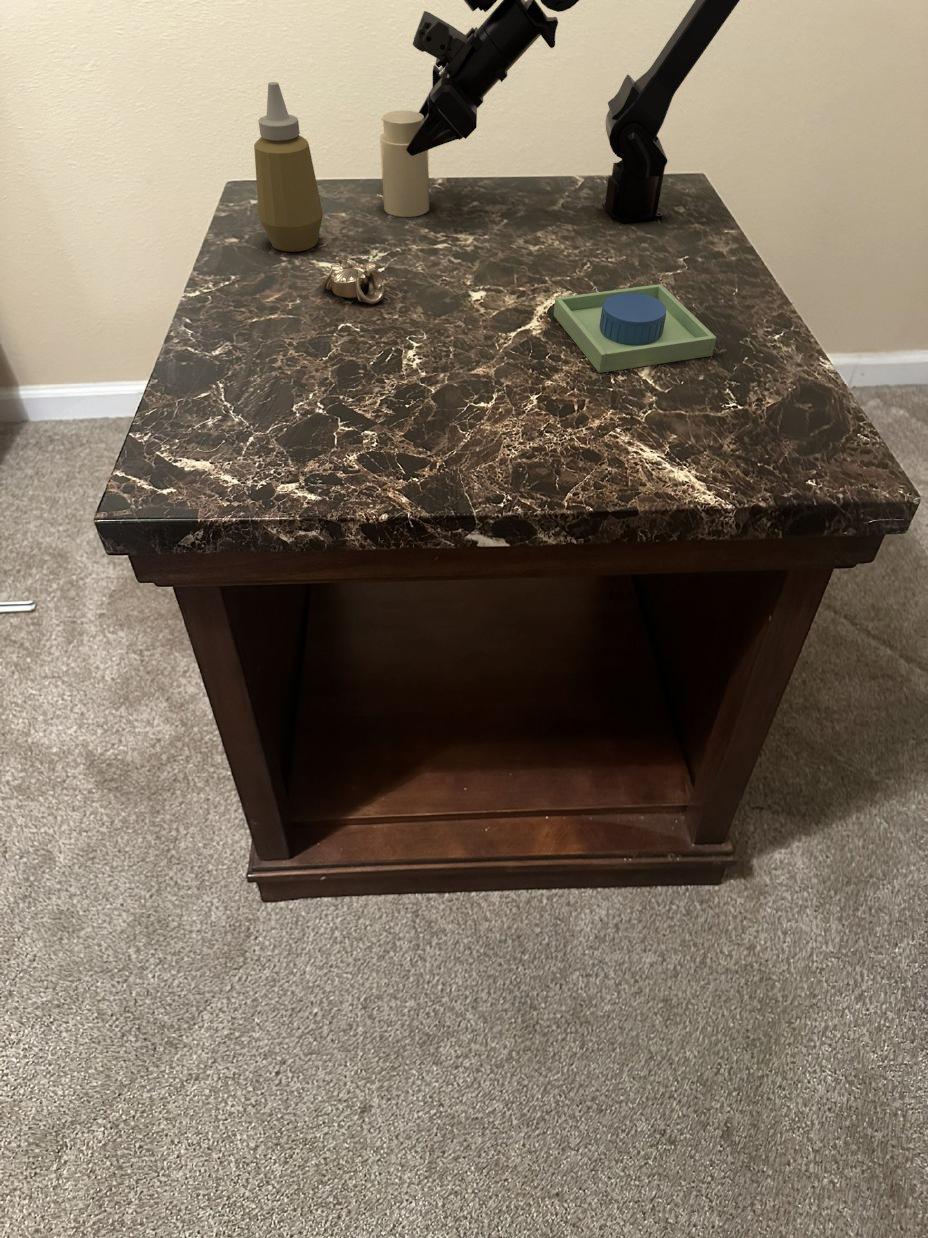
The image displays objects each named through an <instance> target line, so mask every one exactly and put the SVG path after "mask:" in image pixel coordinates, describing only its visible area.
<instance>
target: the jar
mask: <svg viewBox="0 0 928 1238" xmlns="http://www.w3.org/2000/svg"><path fill="white" fill-rule="evenodd" d="M418 112H419V111H413V110H392V111H388V112H386V113H385V114H383V115H382V117H381V121H382V127H383V128H382V130H383V132H382V134H380V136H379V144H380V147H379V148H380V162H381V163H380V165H381V179H382V180H381V181H382V201H383V210H384V212H385V213H386V214H388V215H391V216H394V217H400V218H412V217H413V218H414V217H418V216H422V215H424V214H426V213H428V212H429V211H430V162H429V159H430V156H429V155H430V154H429V150H427V151H424V152H421V153H419V154H416V155H414V156H411V155H410V154H409V153H408V152H407V150H406V149H407V147H408V145H409V143H410V142H411V140H412V138H413V137H414V135H415V134H416V132H417V130H418V129H419V127H420V126H421V124H422V122H423V121H424V116H423V115H422V114H421V113H418Z"/></svg>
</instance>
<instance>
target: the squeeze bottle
mask: <svg viewBox="0 0 928 1238" xmlns="http://www.w3.org/2000/svg"><path fill="white" fill-rule="evenodd" d="M266 99H267V101H266V115H263V116H260V117H259V119H258V120H257V121H258V128H259V129H258V130H259V134H260V137H259V138H258V139H257V140H256V142H255V143H254V144H253V147H254V148H253V149H254V165H255V178H256V196H257V211H258V219H259V221H260V224H261V226H262V228H263V230H264V232H265V233H266V236H267V237H268V240H269V241H270V244H271V246H272V247H273V248H274V249H277V250H279V251H282V252H290V253H291V252H292V253H293V252H302V251H306V250H310V249H312V248H313V247H315V246H316V245H317V243H318V241H319V237H320V236H319V235H320V231H321V226H322V221H323V216H324V212H323V208H322V203H321V198H320V193H319V188H318V183H317V178H316V173H315V168H314V164H313V158H312V153H311V149H310V144H309V141H308V140H307V139H306V138H305V137H303V136H301V131H300V123H299V119H298V117H297V116H295V115H293V114H289V112H288V109H287V106H286V103H285V102H286V101H285V100H284V97H283V93H282V90H281V87H280V83H279V82H276V81H271V82H268V83H267V98H266Z"/></svg>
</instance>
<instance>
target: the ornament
mask: <svg viewBox="0 0 928 1238" xmlns="http://www.w3.org/2000/svg"><path fill="white" fill-rule="evenodd" d="M334 261H335V262H336V263H337V264H335V263H334V264H331V265H330V269H331V270H330V272H329V273H328V274H327V275H326V276H325V278H324V279H323V281H322V287H323V288H325V289H326V291H332V293H333V294H334V295H335V296H338V297H342V298H357V300H358V302H360V303H361V302H362V303H366V304H369V305H374V304H378V303H379V302H381V301H382V299H383V298H384V295H385V290H386V288H385V287H386V286H385V283H383V279H382V276H381V274H380V272H379V270H377V269H378V268H377V264H376V263H375V262H372V261H364V262H363V264H362V263H354V262H352V261H348V260H347V259H342V258H341V257H339V256H335V259H334ZM366 286H368V291H367V294H364V292H363V290H362V289H363V288H365V287H366Z"/></svg>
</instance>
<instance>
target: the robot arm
mask: <svg viewBox="0 0 928 1238" xmlns="http://www.w3.org/2000/svg"><path fill="white" fill-rule="evenodd" d="M463 1H464V4H466V5H467V7H468V8H469V9H470V11H472V12H475V11H476V10H477V9H479V11H480V12H482V11H483V12H484V13H487V12H488V11H489V10H490V9H491V8H492V7H493V6H494V5H495V4H496V3H497V1H498V0H463ZM539 1H540V3H541V4H542V5H543V6H544V7H545V8H547V9H548V10H551V11H554V12H557V13H560V12H565V11H567V10H569V9H571V8H573V7H574V6H575V5H576V4H577V3H578V2H580V0H539ZM740 1H741V0H694V1H693V3H692V4H691V6H690V8H689V9H688V11H687V12H686V14H685V15H684V17H683V18H682V20H681V21H680V23H679V24H678V26H676V28H675V30H674V31H673V32H672V35H671V36H670V38H669V39H668V41H667V42H666V43H665V45H664V47H663V48H662V49H661V51H660V52H659V54H658V55H657V57H656V59H655V60H654V62H653V63H652V64H651V66H650V67H649V69H648V70H647V71H646V72H644V74H642V75H641V76H639V78H638V79H636V80H634V79H633V78H632V77H631V75H630V74H627V75H626V76H625V77H624V79H623V81H622V83H621V86H620V87H619V89H618V91H617V93H616V94H615V95H614V97H612V98H611V99H610V100H609V101H608V102H607V106H608V112H607V114H606V117H605V123H604V125H605V131H606V135H607V139H608V142H609V147H610V148H611V151H612V152H613V153H614V155H615V156H616V157H617V158H620V159H621V160H619V161H618V162H612V163H613V164H612V170H611V175H609V176H608V179H607V186H606V193H605V201H604V202H602V208H603V209H604V210H605V211H607V212H608V213H609V214H610V215H611V216H612V217H613V218H614V219H615V220H616V221H618V223H622V224H625V223H633V222H642V221H651V220H660V219H662V218H663V216H664V215H663V213H662V212H661V211H660V210H658V209H659V204H660V198H661V192H662V188H663V181H664V175H665V170H666V166H667V164H668V157H667V155H666V153H665V150H664V148H663V145H662V143H661V140H660V138H659V137H658V134H659V132H660V130H661V128H662V126H663V124H664V122H665V119H666V117H667V114H668V111H669V109H670V106H671V104H672V101H673V98H674V96H675V94H676V93H677V91H678V90H679V88H680V86H681V85H682V84H683V83H684V81H685V79H686V78H687V77H688V75H689V74H690V72H691V71H692V69H693V68H694V66H695V65H696V64H697V62H698V61H699V60H700V58H701V57H702V55H703V54H704V52H705V51H706V49H707V48H708V46H709V45H710V44H711V42H712V41H713V39H715V37H716V35H717V34H718V32H719V31H720V29H721V28H722V27H723V25H724V23H725V22H726V21H727V19H728V18H729V17H730V15H731V14H732V12H733V11H734V9H735V8H736V6H737V5H738V4H739V2H740ZM558 26H559V19H558V17H557V16H547V14H546V13H545V12H544V9H542V7H541V6H540V5H539V3H538V2H537V1H536V0H501V2H500V3H499V4H498V5H497V7H496V8H495V9H494V10H493V11H492V12H491V13H490V14H489V16H488V17H487V18H486V19H485V20H484V21H483V23H481V24H480V26H479V27H477V26H476V27H471V28H470V29H469V31H468V32H466V34H465V33H463V32H462V31H461V30H459V29H457V28H456V27H454V26H453V25H451V24H450V23H448V22H447V21H444V20H443V19H441V18H439V17H438V16H436V15H435V14H433V13H431V12H429V11H427V10H424V11H423V12H422V16H421V18H420V21H419V24H418V26H417V29H416V32H415V34H414V37H413V41H412V46H413V47H414V48H415V49H416V50H418V51H420V53H421V52H422V53H424V52H425V53H427V54H428V55H430V56H431V57H434V58H435V64H433V66H432V87H431V89H430V91H429V92H428V94H427V97H426V98H425V100H424V101H423V103H422V105H421V107H420V109H419V111H417V112H418V113H421V114H422V115H423V116H424V121H423V122H422V124H421V126H420V127H419V129H418V130H417V132H416V134H415V135H414V137H413V138H412V140H411V142H410V143H409V145H408V147H407V149H406V150H407V152H408V153H409V154H410V155H411V156H414V155H416V154H419V153H421V152H424V151H427V150H428V151H429V150H432V149H435V148H437V147H440V146H442V145H445V144H448V143H451V142H453V141H457V140H458V141H460V140H462V139H463V138H464V139H465V140H466V139H468V137H469V136H470V135H471V134H472V133H474V131H475V130H476V129H477V127H478V126H477V124H478V109H479V108H480V106H481V105H482V104H483V103H484V97H485V96H486V95H487V94H489V92H490V90H492V88H494V86H495V85H496V84H497V83H498V82H500V83H503V81H504V80H505V79H506V78H507V77H508V71H510V69H511V68H512V67H513V66H514V64H516V63H517V62H518V60H519V59H520V58H521V57H522V56H523V55H524V54H525V53H526V52H527V50H529V49H530V47H532V45H533V44H534V43H535V42H536V41H537V40H538V39H539V38H540V36H541V38H542V39H543V41H544V42H545V43H546V44H547V46H548V47H549V48H550V49H554V48H555V47H556V33H557V28H558Z"/></svg>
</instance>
